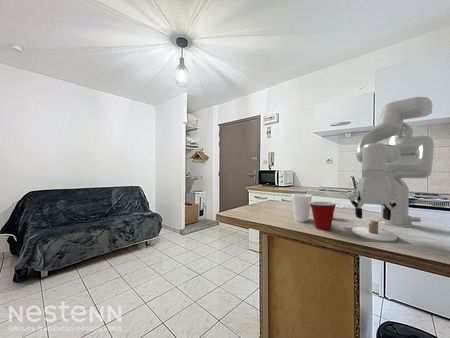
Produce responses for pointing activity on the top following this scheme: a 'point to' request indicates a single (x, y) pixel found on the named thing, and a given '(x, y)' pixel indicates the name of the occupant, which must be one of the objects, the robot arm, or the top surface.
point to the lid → (374, 232)
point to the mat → (399, 240)
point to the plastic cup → (323, 214)
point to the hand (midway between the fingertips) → (372, 218)
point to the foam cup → (301, 206)
